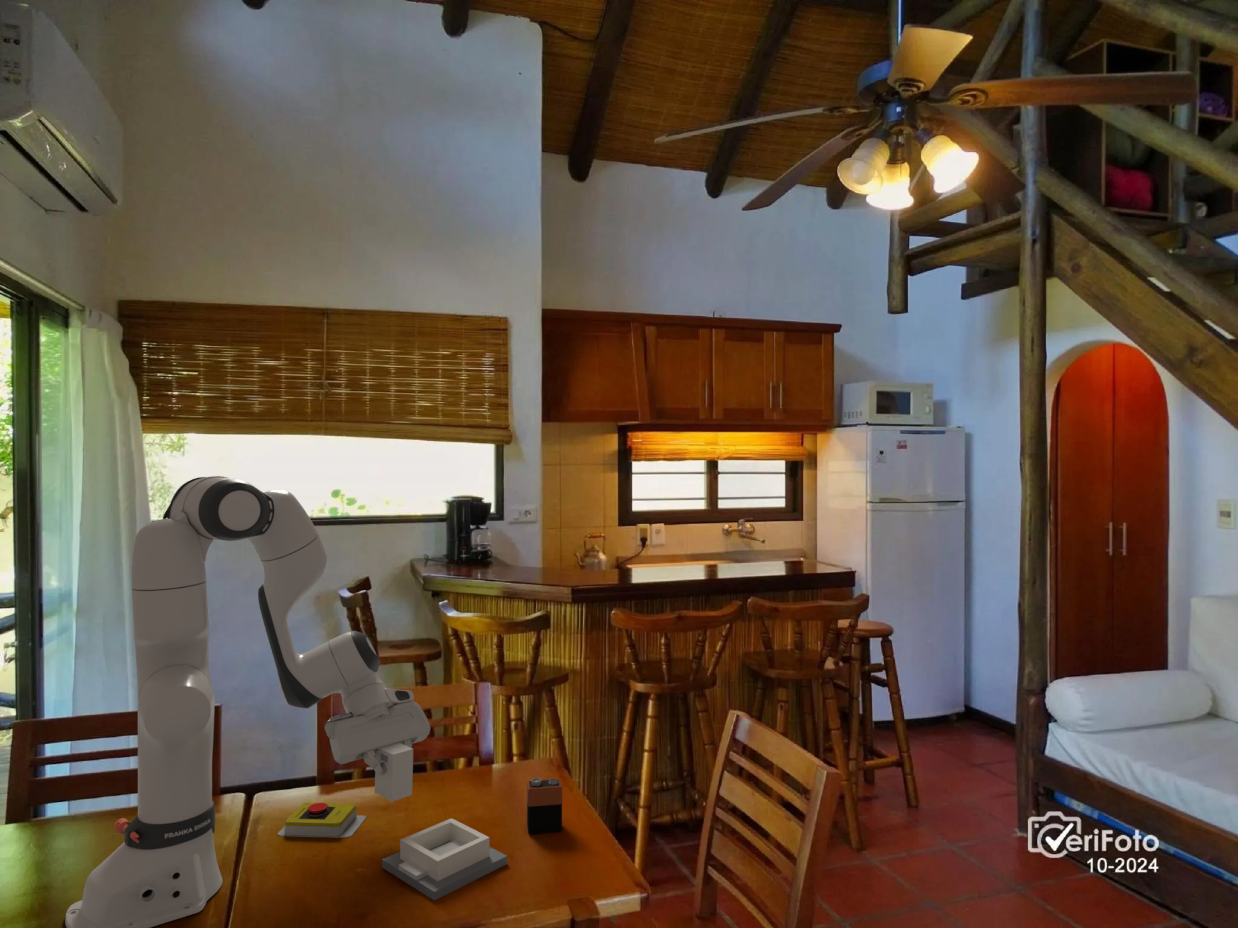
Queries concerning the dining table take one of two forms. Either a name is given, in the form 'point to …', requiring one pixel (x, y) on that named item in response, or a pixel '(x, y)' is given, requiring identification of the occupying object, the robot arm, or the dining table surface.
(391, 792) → the block
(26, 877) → the dining table surface
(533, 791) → the battery
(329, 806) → the emergency button
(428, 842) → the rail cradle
